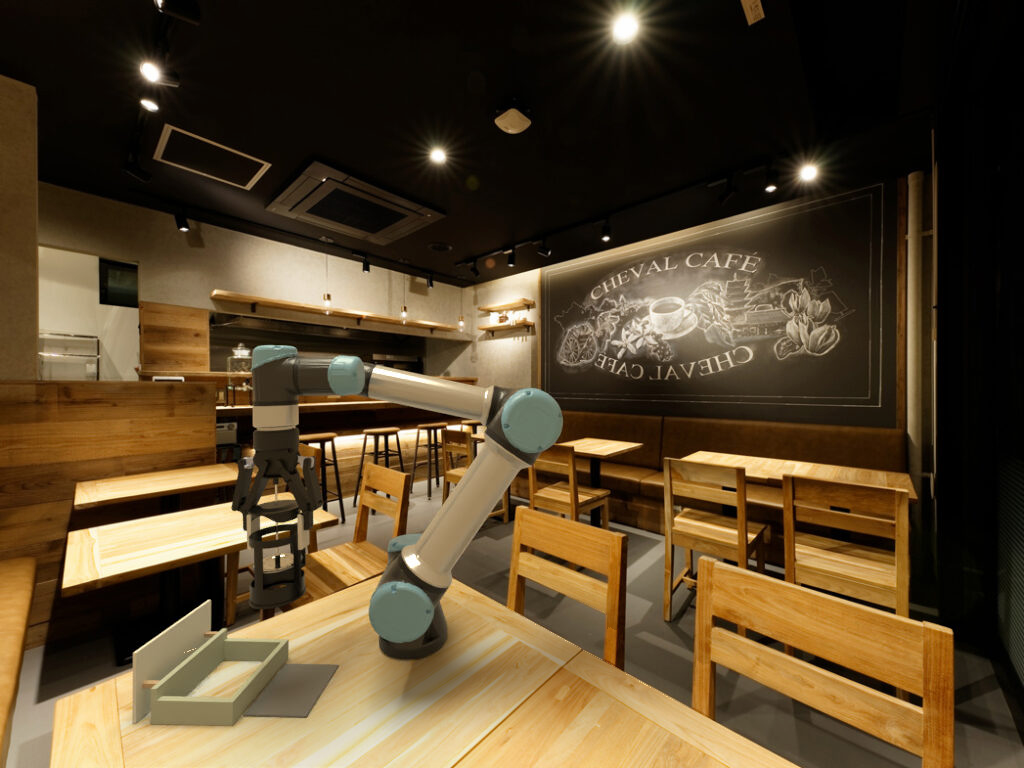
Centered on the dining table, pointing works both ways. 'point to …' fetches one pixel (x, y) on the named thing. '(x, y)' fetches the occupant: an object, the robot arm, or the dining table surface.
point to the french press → (276, 556)
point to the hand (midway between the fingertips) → (278, 546)
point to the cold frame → (198, 672)
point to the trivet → (292, 691)
